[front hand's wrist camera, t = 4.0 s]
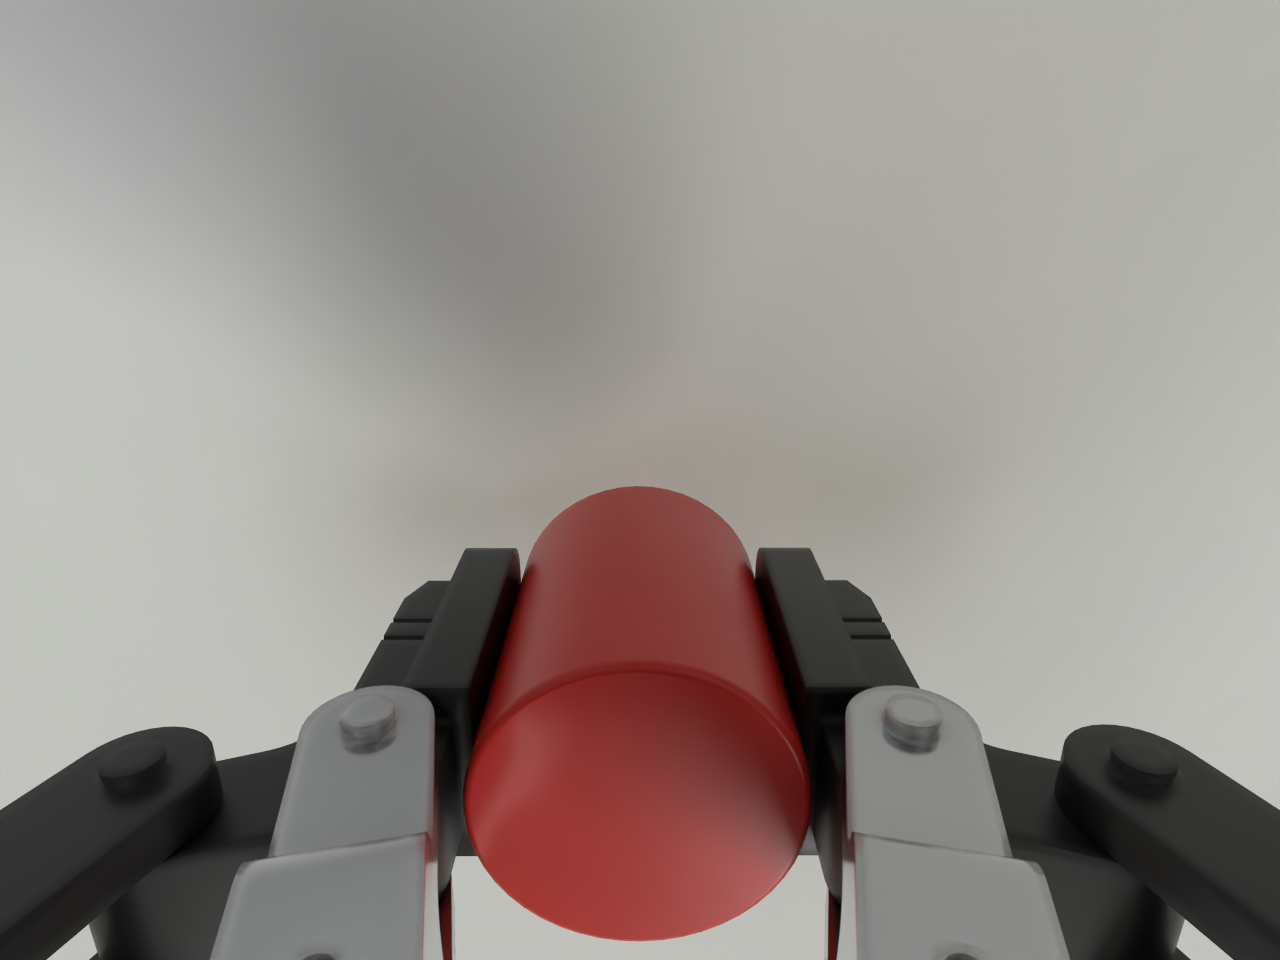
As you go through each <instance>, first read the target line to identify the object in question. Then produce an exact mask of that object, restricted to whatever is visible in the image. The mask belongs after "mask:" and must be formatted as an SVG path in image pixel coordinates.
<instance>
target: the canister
mask: <svg viewBox="0 0 1280 960" xmlns="http://www.w3.org/2000/svg"><path fill="white" fill-rule="evenodd" d="M463 811H464V816H465V821H466V826H467V830H468V834H469V836H470V839H471V842H472V844H473V847H474V850H475V852H476V854H477V855H478V857H479V859H480V861H481V863H482V864H483V866H484V868H485V869H486V870H487V872H488V873H489V874H490V876H491V877H492V878H493V880H494V881H495V882H496V883H497V884H498V885H499V886H500V887H501V888H502V889H503V890H504V891H505V892H506V893H507V894H508V895H509V896H510V897H512V898H513V899H514V900H515V901H517V902H518V903H519V904H520V905H522V906H523V907H524V908H526V909H528V910H529V911H531V912H533V913H534V914H536V915H537V916H539V917H541V918H543V919H545V920H547V921H549V922H551V923H554V924H556V925H558V926H560V927H563V928H566V929H569V930H572V931H575V932H578V933H581V934H586V935H590V936H594V937H598V938H605V939H613V940H622V941H652V940H664V939H670V938H677V937H683V936H686V935H690V934H694V933H698V932H702V931H705V930H707V929H710V928H712V927H715V926H718V925H720V924H723V923H725V922H727V921H729V920H731V919H733V918H735V917H737V916H739V915H740V914H742V913H743V912H745V911H746V910H748V909H749V908H751V907H753V906H754V905H756V904H757V903H758V902H759V901H760V900H762V899H763V898H764V897H765V896H766V895H768V894H769V893H770V892H771V891H772V890H773V889H774V888H775V887H776V886H777V885H778V884H779V882H780V881H781V880H782V879H783V878H784V877H785V875H786V874H787V872H788V871H789V870H790V868H791V867H792V865H793V864H794V862H795V860H796V858H797V856H798V854H799V852H800V850H801V848H802V846H803V844H804V840H805V837H806V834H807V831H808V828H809V825H810V819H811V812H812V783H811V778H810V772H809V768H808V764H807V761H806V757H805V754H804V750H803V747H802V743H801V739H800V736H799V732H798V729H797V725H796V722H795V718H794V715H793V711H792V708H791V704H790V701H789V697H788V694H787V690H786V687H785V683H784V680H783V676H782V673H781V669H780V666H779V662H778V659H777V655H776V651H775V648H774V644H773V641H772V637H771V634H770V630H769V627H768V623H767V620H766V616H765V613H764V609H763V606H762V602H761V599H760V595H759V592H758V588H757V585H756V581H755V578H754V574H753V571H752V567H751V564H750V561H749V558H748V555H747V552H746V550H745V549H744V547H743V545H742V543H741V541H740V539H739V538H738V536H737V535H736V534H735V532H734V531H733V529H732V528H731V527H730V526H729V525H728V524H727V523H726V522H725V521H724V520H723V519H722V518H721V517H720V516H719V515H718V514H716V513H715V512H714V511H713V510H711V509H710V508H709V507H707V506H705V505H704V504H702V503H700V502H699V501H697V500H695V499H692V498H690V497H688V496H686V495H683V494H680V493H677V492H674V491H670V490H666V489H661V488H655V487H639V486H635V487H622V488H616V489H611V490H606V491H603V492H600V493H597V494H594V495H591V496H589V497H587V498H585V499H583V500H580V501H578V502H576V503H575V504H573V505H572V506H570V507H569V508H567V509H566V510H564V511H563V512H562V513H561V514H559V515H558V516H557V517H556V518H555V519H554V520H552V522H551V523H550V524H549V525H548V526H547V527H546V528H545V530H544V531H543V532H542V534H541V535H540V537H539V538H538V540H537V541H536V543H535V545H534V547H533V549H532V551H531V553H530V555H529V558H528V561H527V565H526V568H525V571H524V575H523V578H522V582H521V585H520V589H519V592H518V595H517V599H516V602H515V606H514V609H513V612H512V616H511V619H510V623H509V626H508V630H507V633H506V636H505V640H504V643H503V647H502V650H501V654H500V657H499V660H498V664H497V667H496V671H495V674H494V677H493V681H492V684H491V688H490V691H489V695H488V698H487V701H486V705H485V708H484V712H483V715H482V719H481V722H480V725H479V729H478V732H477V736H476V739H475V742H474V746H473V749H472V753H471V756H470V760H469V763H468V766H467V770H466V773H465V780H464V787H463Z"/></svg>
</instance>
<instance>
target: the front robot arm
mask: <svg viewBox="0 0 1280 960" xmlns="http://www.w3.org/2000/svg"><path fill="white" fill-rule="evenodd" d="M755 581H756V585H757V588H758V592H759V595H760V599H761V602H762V606H763V609H764V613H765V616H766V620H767V623H768V627H769V630H770V634H771V637H772V641H773V644H774V648H775V651H776V655H777V659H778V662H779V666H780V669H781V673H782V676H783V680H784V683H785V687H786V690H787V694H788V697H789V701H790V704H791V708H792V711H793V715H794V718H795V722H796V725H797V729H798V732H799V736H800V739H801V743H802V747H803V750H804V754H805V757H806V761H807V764H808V768H809V772H810V778H811V783H812V812H811V819H810V825H809V828H808V831H807V834H806V837H805V840H804V844H803V846H802V848H801V850H800V852H799V854H798V855H819V859H820V863H821V867H822V871H823V874H824V878H825V881H826V884H827V895H826V905H825V960H1190V959H1189V958H1188V957H1187V956H1186V955H1185V954H1184V953H1182V952H1181V951H1180V950H1179V949H1178V948H1177V947H1176V946H1177V943H1178V939H1179V936H1180V933H1181V930H1182V927H1183V923H1184V920H1185V919H1186V920H1187V921H1188V922H1190V923H1191V924H1192V925H1193V926H1194V927H1196V928H1197V929H1198V930H1199V931H1200V932H1201V933H1203V934H1204V935H1205V936H1206V937H1207V938H1209V939H1210V940H1211V941H1212V942H1213V943H1215V944H1216V945H1217V946H1218V947H1219V948H1220V949H1222V950H1223V951H1224V952H1225V953H1226V954H1228V955H1229V956H1230V957H1231V958H1232V959H1233V960H1280V810H1279V809H1277V808H1276V807H1274V806H1273V805H1271V804H1269V803H1268V802H1266V801H1265V800H1263V799H1262V798H1260V797H1259V796H1257V795H1256V794H1254V793H1253V792H1251V791H1249V790H1248V789H1246V788H1245V787H1243V786H1242V785H1240V784H1239V783H1237V782H1236V781H1234V780H1233V779H1231V778H1229V777H1228V776H1226V775H1225V774H1223V773H1222V772H1220V771H1219V770H1217V769H1216V768H1214V767H1213V766H1211V765H1210V764H1208V763H1206V762H1205V761H1203V760H1202V759H1200V758H1199V757H1197V756H1196V755H1194V754H1193V753H1191V752H1189V751H1188V750H1186V749H1184V748H1183V747H1181V746H1179V745H1177V744H1175V743H1173V742H1171V741H1169V740H1167V739H1165V738H1162V737H1160V736H1157V735H1155V734H1152V733H1149V732H1146V731H1142V730H1139V729H1134V728H1130V727H1125V726H1118V725H1091V726H1086V727H1082V728H1080V729H1077V730H1075V731H1074V732H1072V733H1071V734H1069V736H1068V737H1067V738H1066V740H1065V743H1064V746H1063V750H1062V755H1061V760H1060V761H1056V760H1051V759H1047V758H1042V757H1037V756H1032V755H1028V754H1023V753H1018V752H1013V751H1008V750H1004V749H1000V748H996V747H993V746H990V745H987V744H984V743H983V740H982V737H981V733H980V730H979V728H978V725H977V724H976V722H975V721H974V719H973V718H972V717H971V716H970V715H969V714H968V713H967V712H966V711H965V710H964V709H963V708H961V707H960V706H959V705H957V704H956V703H954V702H952V701H951V700H949V699H947V698H945V697H943V696H941V695H938V694H935V693H933V692H930V691H927V690H923V689H920V688H919V686H918V684H917V682H916V680H915V678H914V677H913V675H912V673H911V671H910V669H909V667H908V666H907V664H906V662H905V660H904V658H903V656H902V655H901V653H900V651H899V649H898V647H897V645H896V644H895V642H894V640H893V639H891V634H890V633H889V631H888V629H887V627H886V625H885V623H884V622H882V618H881V616H880V614H879V612H878V610H877V609H876V607H875V605H874V603H873V601H872V599H871V598H870V597H869V596H867V595H866V594H865V593H863V592H862V591H861V590H859V589H858V588H856V587H855V586H854V585H852V584H851V583H850V582H848V581H847V580H824V578H823V575H822V573H821V571H820V569H819V567H818V564H817V562H816V560H815V558H814V556H813V553H812V551H811V549H810V548H759V550H758V553H757V559H756V573H755ZM520 585H521V575H520V561H519V554H518V551H517V549H516V548H466V549H465V551H464V553H463V555H462V557H461V559H460V561H459V564H458V566H457V568H456V570H455V572H454V574H453V577H452V579H451V581H428V582H427V583H425V584H424V585H422V586H421V587H420V588H418V589H417V590H416V591H414V592H413V593H411V594H410V595H409V596H407V597H406V598H405V599H404V600H403V602H402V604H401V606H400V608H399V610H398V611H397V613H396V615H395V617H394V619H393V623H391V624H390V626H389V628H388V629H387V631H386V633H385V635H384V640H381V642H380V644H379V646H378V647H377V649H376V651H375V653H374V655H373V656H372V658H371V660H370V662H369V664H368V665H367V667H366V669H365V671H364V673H363V674H362V676H361V678H360V680H359V682H358V683H357V685H356V687H355V689H354V690H353V691H350V692H347V693H345V694H342V695H339V696H337V697H335V698H333V699H331V700H329V701H328V702H326V703H324V704H323V705H321V706H320V707H319V708H317V709H316V710H315V711H314V712H313V713H312V714H311V715H310V716H309V717H308V718H307V719H306V721H305V722H304V724H303V725H302V728H301V730H300V733H299V737H298V740H297V742H295V743H292V744H289V745H286V746H283V747H280V748H277V749H273V750H269V751H264V752H260V753H255V754H250V755H245V756H240V757H236V758H231V759H226V760H221V761H217V762H216V758H215V753H214V749H213V745H212V742H211V741H210V739H209V738H208V737H207V736H206V735H205V734H203V733H202V732H199V731H197V730H194V729H190V728H185V727H160V728H153V729H147V730H143V731H139V732H135V733H132V734H128V735H125V736H122V737H120V738H117V739H115V740H112V741H110V742H108V743H106V744H104V745H102V746H100V747H98V748H96V749H94V750H93V751H91V752H89V753H87V754H86V755H84V756H83V757H81V758H80V759H78V760H77V761H75V762H74V763H72V764H70V765H69V766H67V767H66V768H64V769H63V770H61V771H60V772H58V773H57V774H55V775H54V776H52V777H50V778H49V779H47V780H46V781H44V782H43V783H41V784H40V785H38V786H37V787H35V788H34V789H32V790H31V791H29V792H27V793H26V794H24V795H23V796H21V797H20V798H18V799H17V800H15V801H14V802H12V803H11V804H9V805H7V806H6V807H4V808H3V809H1V810H0V960H46V959H48V958H49V957H50V956H51V955H52V954H54V953H55V952H56V951H57V950H58V949H60V948H61V947H62V946H63V945H64V944H65V943H67V942H68V941H69V940H70V939H71V938H73V937H74V936H75V935H76V934H77V933H78V932H80V931H81V930H82V929H83V928H84V927H86V926H87V925H88V924H89V927H90V930H91V933H92V936H93V939H94V943H95V946H96V949H97V952H98V953H96V954H95V955H94V956H93V957H92V958H91V959H90V960H455V905H454V895H453V886H452V876H451V872H452V868H453V864H454V861H455V857H456V856H478V855H477V854H476V852H475V850H474V847H473V844H472V842H471V839H470V836H469V834H468V830H467V826H466V821H465V816H464V811H463V787H464V780H465V773H466V770H467V766H468V763H469V760H470V756H471V753H472V749H473V746H474V742H475V739H476V736H477V732H478V729H479V725H480V722H481V719H482V715H483V712H484V708H485V705H486V701H487V698H488V695H489V691H490V688H491V684H492V681H493V677H494V674H495V671H496V667H497V664H498V660H499V657H500V654H501V650H502V647H503V643H504V640H505V636H506V633H507V630H508V626H509V623H510V619H511V616H512V612H513V609H514V606H515V602H516V599H517V595H518V592H519V589H520Z"/></svg>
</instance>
